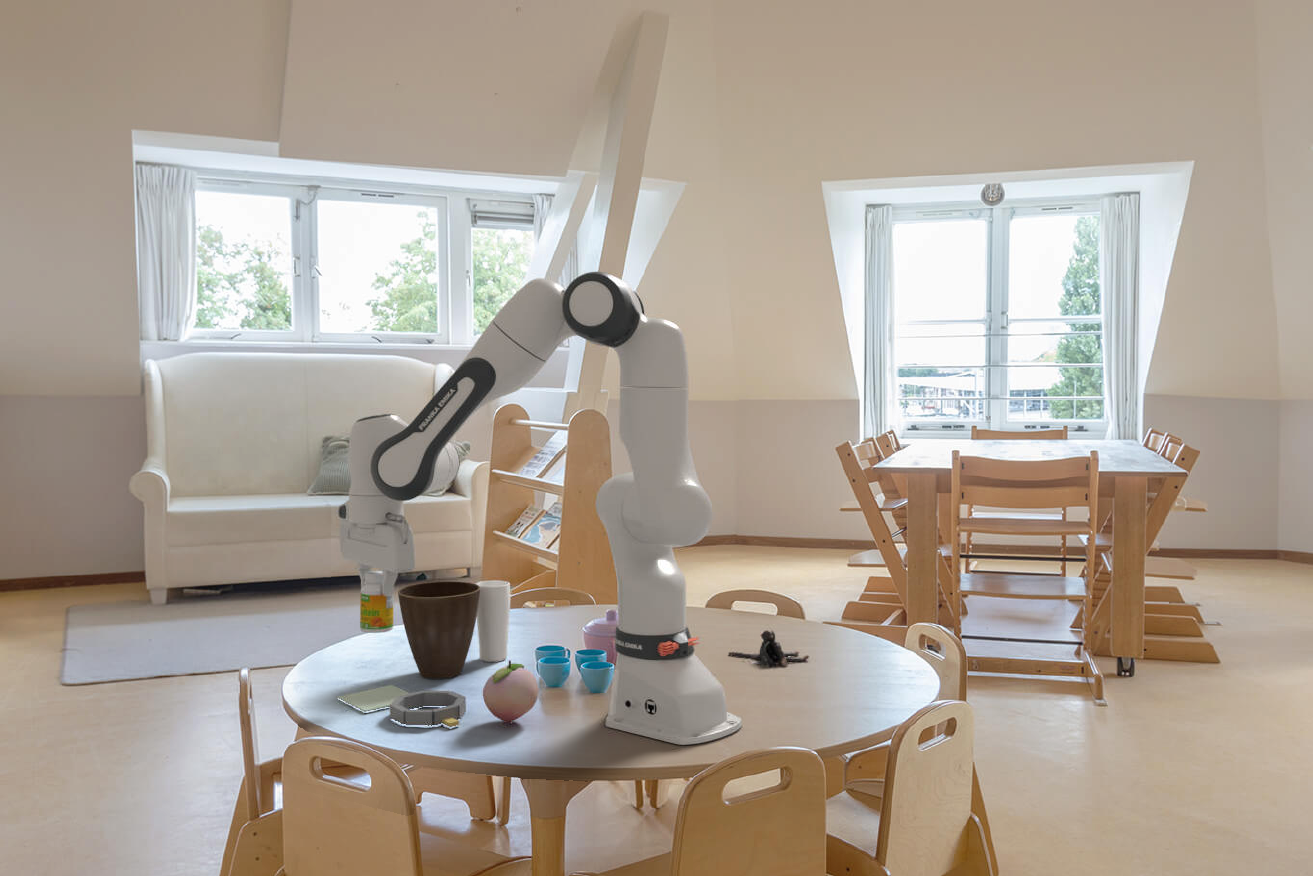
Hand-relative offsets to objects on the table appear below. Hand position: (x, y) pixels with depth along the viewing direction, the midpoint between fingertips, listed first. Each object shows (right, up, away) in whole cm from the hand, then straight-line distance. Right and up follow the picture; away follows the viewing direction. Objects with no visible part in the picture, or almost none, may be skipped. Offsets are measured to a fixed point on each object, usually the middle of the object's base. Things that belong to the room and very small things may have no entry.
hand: (377, 592), depth 167 cm
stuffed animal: (+69, -18, +27) cm, 76 cm away
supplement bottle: (0, -7, 0) cm, 7 cm away
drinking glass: (+15, -18, +27) cm, 36 cm away
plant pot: (+7, -18, +17) cm, 26 cm away
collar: (+10, -19, -7) cm, 23 cm away
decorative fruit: (+24, -19, -11) cm, 33 cm away
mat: (0, -19, +1) cm, 19 cm away
